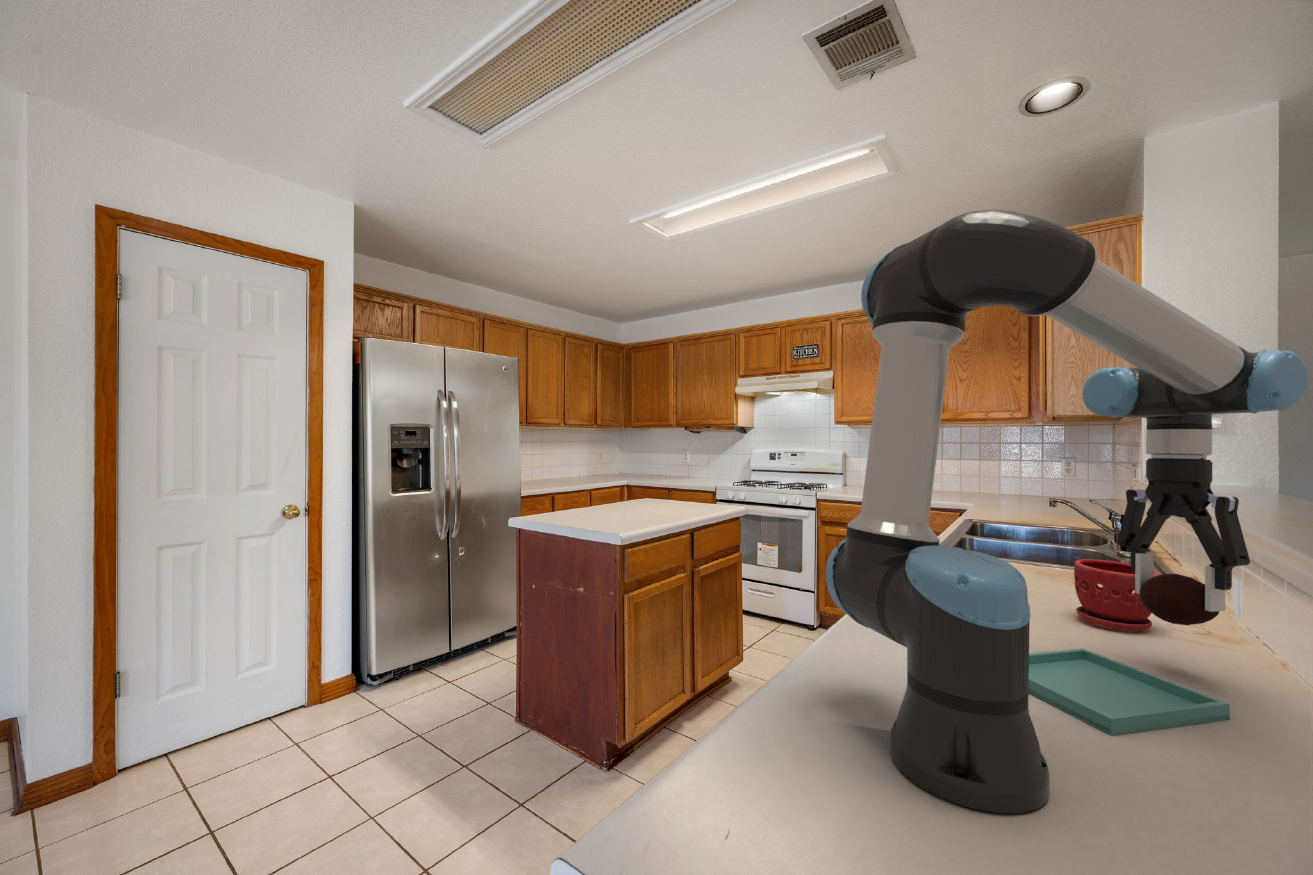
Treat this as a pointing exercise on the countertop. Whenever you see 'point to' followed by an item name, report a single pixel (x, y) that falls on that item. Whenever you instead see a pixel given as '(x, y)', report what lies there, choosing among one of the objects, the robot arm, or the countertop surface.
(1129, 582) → the plant pot
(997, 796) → the robot arm
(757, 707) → the countertop surface
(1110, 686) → the teal tray
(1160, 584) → the dark brown oval
